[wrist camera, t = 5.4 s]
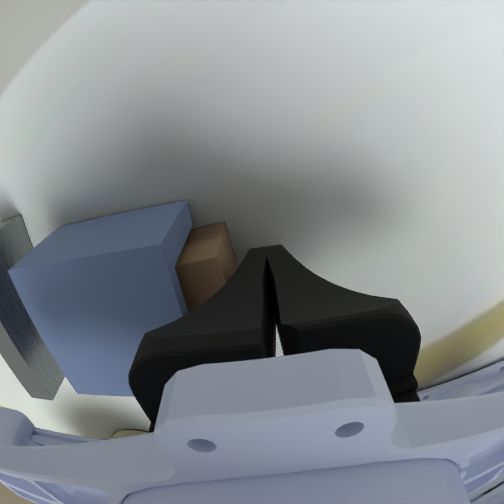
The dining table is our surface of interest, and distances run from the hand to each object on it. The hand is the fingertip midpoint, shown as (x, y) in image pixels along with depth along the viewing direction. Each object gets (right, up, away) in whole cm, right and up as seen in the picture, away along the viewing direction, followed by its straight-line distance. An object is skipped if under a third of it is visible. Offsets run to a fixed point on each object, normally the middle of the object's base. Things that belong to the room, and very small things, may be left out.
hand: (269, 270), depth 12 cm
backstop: (-12, -1, +2) cm, 12 cm away
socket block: (-6, 0, +1) cm, 6 cm away
